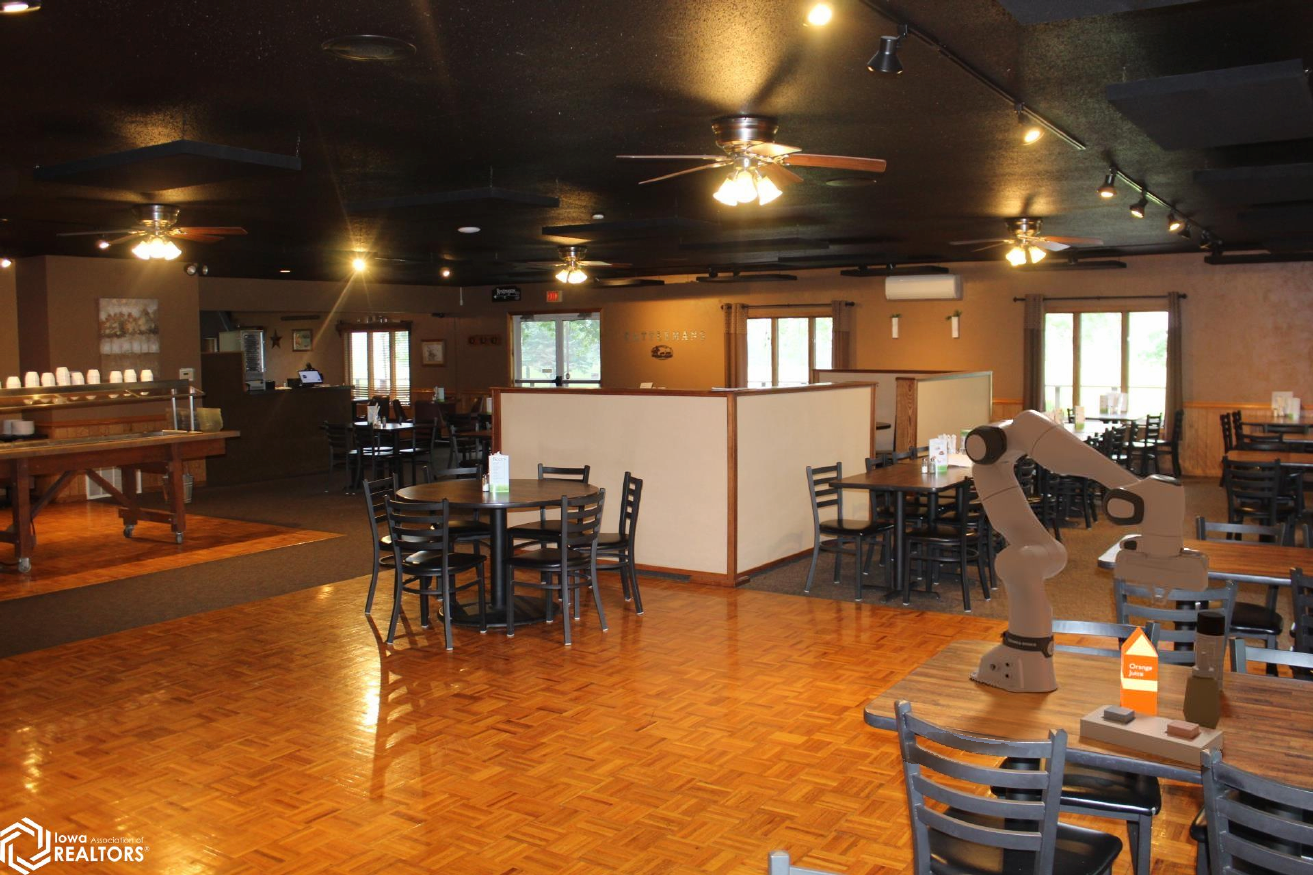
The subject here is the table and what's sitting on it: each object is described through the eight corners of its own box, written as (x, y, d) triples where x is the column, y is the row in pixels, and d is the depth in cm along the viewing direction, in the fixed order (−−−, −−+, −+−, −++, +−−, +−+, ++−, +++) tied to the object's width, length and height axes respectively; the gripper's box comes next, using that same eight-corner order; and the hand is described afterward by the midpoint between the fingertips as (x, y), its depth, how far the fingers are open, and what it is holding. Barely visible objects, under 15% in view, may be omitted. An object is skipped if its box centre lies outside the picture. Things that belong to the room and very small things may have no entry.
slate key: (1103, 726, 241) (1103, 709, 241) (1112, 721, 244) (1112, 704, 244) (1125, 732, 237) (1125, 715, 237) (1134, 726, 241) (1134, 709, 241)
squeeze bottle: (1174, 722, 249) (1177, 648, 247) (1207, 721, 249) (1209, 647, 248) (1195, 734, 241) (1197, 658, 239) (1228, 733, 241) (1230, 657, 240)
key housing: (1079, 735, 240) (1080, 718, 240) (1105, 720, 250) (1105, 704, 250) (1200, 766, 222) (1200, 747, 222) (1222, 748, 232) (1222, 731, 231)
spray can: (1216, 684, 277) (1218, 610, 276) (1227, 692, 271) (1230, 617, 269) (1190, 684, 278) (1192, 610, 277) (1200, 692, 271) (1203, 616, 270)
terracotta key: (1166, 742, 231) (1167, 724, 231) (1174, 736, 234) (1175, 719, 234) (1190, 748, 227) (1191, 730, 227) (1198, 742, 231) (1199, 724, 231)
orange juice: (1122, 712, 256) (1124, 632, 255) (1119, 701, 265) (1121, 623, 263) (1157, 715, 254) (1159, 635, 252) (1153, 704, 262) (1155, 626, 261)
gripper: (1214, 550, 237) (1211, 609, 238) (1123, 537, 251) (1120, 593, 253) (1204, 553, 232) (1201, 614, 234) (1112, 540, 247) (1109, 597, 248)
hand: (1158, 603), depth 243 cm, fingers closed
